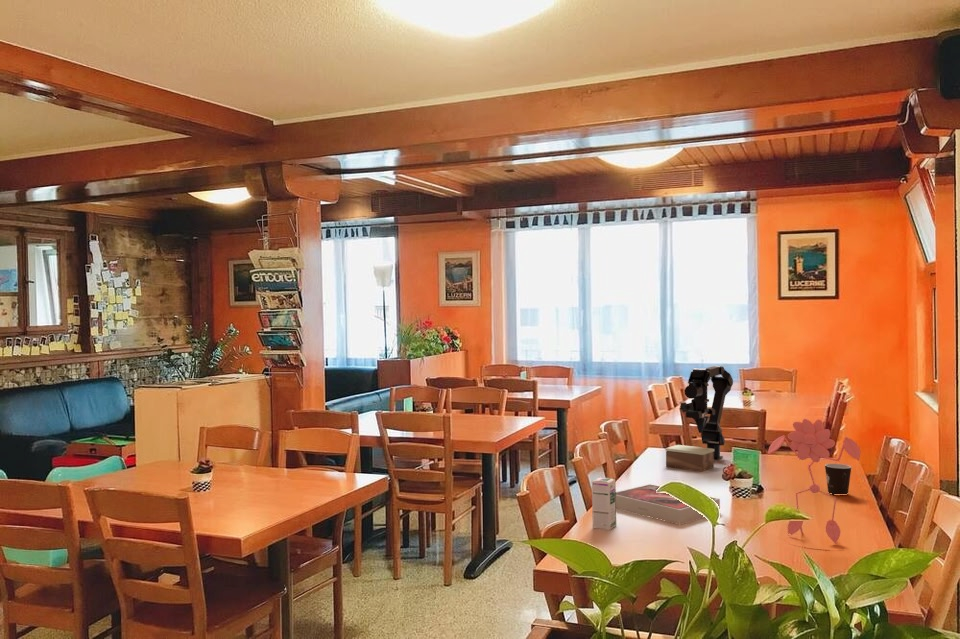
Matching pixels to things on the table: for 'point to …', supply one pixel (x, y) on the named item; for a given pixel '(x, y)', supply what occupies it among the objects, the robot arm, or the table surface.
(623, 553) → the table surface
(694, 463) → the walnut box
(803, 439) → the pink flower figurine
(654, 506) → the product packaging
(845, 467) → the coffee mug
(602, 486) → the syrup box
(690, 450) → the lid
